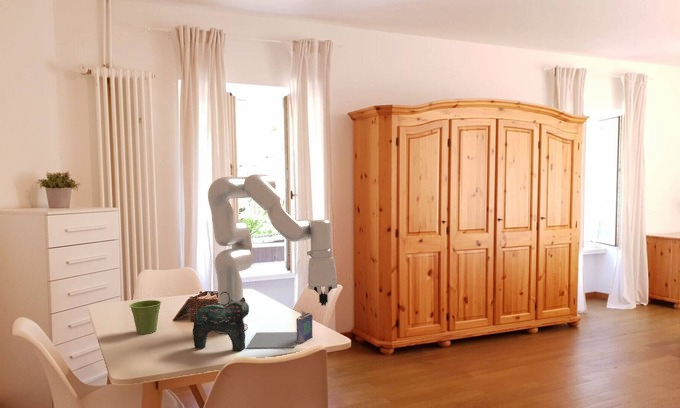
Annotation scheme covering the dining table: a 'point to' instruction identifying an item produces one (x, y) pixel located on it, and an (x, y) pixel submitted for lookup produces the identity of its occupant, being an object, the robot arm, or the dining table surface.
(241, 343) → the ceramic cat
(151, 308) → the plant pot
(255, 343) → the mat
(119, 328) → the dining table surface
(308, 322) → the flask
